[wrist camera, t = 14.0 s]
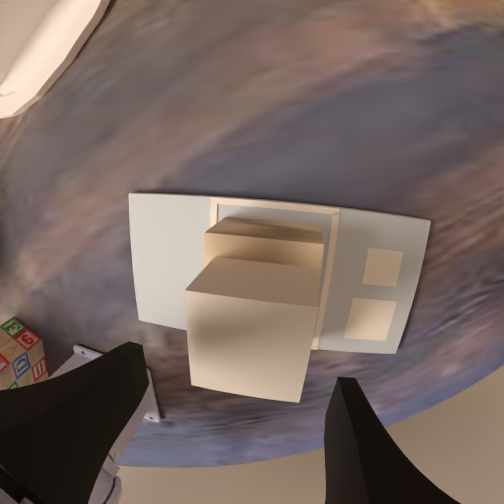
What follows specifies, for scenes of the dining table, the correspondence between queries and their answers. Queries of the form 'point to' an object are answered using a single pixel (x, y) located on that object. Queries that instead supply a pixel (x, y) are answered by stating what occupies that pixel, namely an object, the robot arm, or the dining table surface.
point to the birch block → (265, 242)
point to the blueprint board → (332, 268)
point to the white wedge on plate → (40, 46)
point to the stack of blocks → (20, 356)
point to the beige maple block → (251, 327)
